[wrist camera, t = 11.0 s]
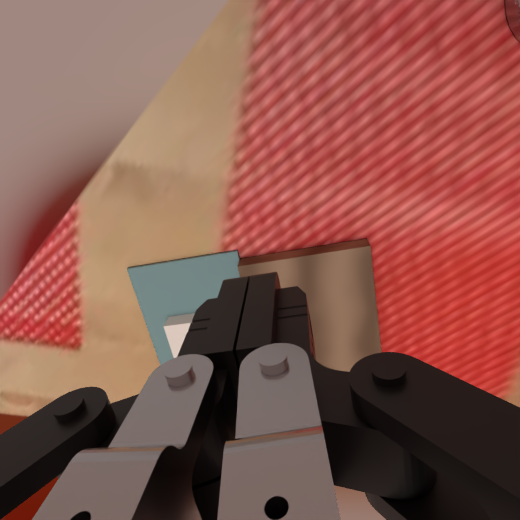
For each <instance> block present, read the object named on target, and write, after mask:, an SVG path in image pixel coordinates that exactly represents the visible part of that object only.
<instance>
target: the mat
mask: <svg viewBox="0 0 520 520" xmlns="http://www.w3.org/2000/svg"><path fill="white" fill-rule="evenodd" d="M239 259H240V258H239V254H238V250H234V251H227V252H221V253H215V254H209V255H203V256H196V257H190V258H184V259H178V260H172V261H165V262H159V263H153V264H147V265H141V266H134V267H128V268H127V271H128V274H129V276H130V279H131V282H132V285H133V288H134V291H135V294H136V296H137V299H138V302H139V305H140V308H141V311H142V313H143V316H144V319H145V322H146V325H147V328H148V331H149V333H150V336H151V339H152V342H153V345H154V348H155V351H156V353H157V356H158V359H159V362H160V365H162V364H163V363H165V362H167V361H169V360H171V359H173V358H174V357H173V354H172V351H171V348H170V345H169V342H168V339H167V336H166V333H165V330H164V327H163V326H164V324H165V323H166V321H167V319H168V317H170V316H177V315H184V314H192V313H195V312H196V310H197V309H198V308H199V307H200V306H201V305H202V304H203V303H204V302H205V301H206V300H207V299H213V298H217V297H218V294H219V291H220V288H221V285H222V282H223V280H225V279H232V278H239V277H240V275H239V271H238V267H237V266H238V263H239Z"/></svg>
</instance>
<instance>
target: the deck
mask: <svg viewBox="0 0 520 520" xmlns="http://www.w3.org/2000/svg"><path fill="white" fill-rule="evenodd" d="M237 267H238V271H239V275H240V277H245V276H250V277H251V275H258V274H264V273H271V272H277V273H278V276H279V281H280V286H281V288H287V287H294V286H298V287H299V288H300V289H301V290H302V291H303V292H304V293H306V297H307V303H308V308H309V314H310V320H311V326H312V331H313V337H314V344H315V355H316V361H317V362H318V363H320V364H321V365H323V366H325V367H328V368H330V369H334V370H339V371H347V372H350V370H351V368H352V367H353V365H354V364H355V363H356V362H358V361H359V360H360V359H362V358H364V357H366V356H369V355H372V354H376V353H381V344H380V335H379V325H378V315H377V305H376V295H375V285H374V276H373V266H372V256H371V246H370V244H369V242H368V240H367V239H361V240H355V241H348V242H342V243H336V244H329V245H323V246H317V247H311V248H304V249H298V250H292V251H285V252H279V253H273V254H266V255H260V256H254V257H247V258H241V259H239V263H238V266H237Z"/></svg>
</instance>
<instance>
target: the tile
mask: <svg viewBox="0 0 520 520" xmlns="http://www.w3.org/2000/svg"><path fill="white" fill-rule="evenodd" d="M194 314H195V313H192V314H184V315H177V316H170V317H168V319H167V321H166V323H165V324H164V326H163V327H164V330H165V333H166V336H167V339H168V342H169V345H170V348H171V351H172V354H173V357H174V358H176V357H177V356H178V353H179V351H180V349H181V346H182V344H183V341H184V339H185V336H186V334H187V332H188V329H189V327H190V324H191V323H192V319H193V317H194Z"/></svg>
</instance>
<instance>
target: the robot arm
mask: <svg viewBox="0 0 520 520" xmlns="http://www.w3.org/2000/svg"><path fill="white" fill-rule="evenodd" d="M505 6H506V16H507V20H508V23H509V26H510V29H511V30H512V32H513V34H514V35H515V37H516V38H517V39H518V40H519V41H520V0H505ZM57 476H58V478H59V479H58V481H57V482H56V484H55V485H54V487H53V489H52V490H51V492H50V493H49V495H48V496H47V498H46V499H45V501H44V502H43V504H42V505H41V507H40V509H39V510H38V511H37V513H36V515H35V516H34V517H33V519H32V520H340V515H339V510H338V504H337V499H336V494H335V489H334V485H336V486H340V487H345V488H349V489H354V490H357V491H362V492H365V494H366V497H367V499H368V501H369V502H370V504H371V505H372V506H373V507H374V508H375V510H377V511H378V512H379V513H380V514H381V515H382V516H383V517H384V518H385V519H386V520H520V408H519V407H517V406H515V405H513V404H511V403H509V402H507V401H505V400H503V399H500V398H498V397H496V396H494V395H492V394H490V393H488V392H486V391H484V390H482V389H479V388H477V387H475V386H473V385H471V384H469V383H467V382H465V381H463V380H460V379H458V378H456V377H454V376H452V375H450V374H448V373H446V372H444V371H442V370H439V369H437V368H435V367H433V366H431V365H429V364H427V363H425V362H423V361H421V360H418V359H416V358H414V357H412V356H409V355H406V354H402V353H396V352H382V353H376V354H372V355H369V356H366V357H364V358H362V359H360V360H359V361H358V362H356V363H355V364H354V365H353V367H352V368H351V370H350V372H347V371H339V370H334V369H330V368H328V367H325V366H323V365H321V364H320V363H318V362H317V361H316V355H315V344H314V337H313V331H312V326H311V320H310V314H309V308H308V303H307V297H306V293H304V292H303V291H302V290H301V289H300V288H299V287H298V286H294V287H287V288H281V286H280V281H279V276H278V273H277V272H271V273H264V274H258V275H251V277H250V276H245V277H239V278H232V279H225V280H223V282H222V285H221V288H220V291H219V294H218V297H217V298H213V299H207V300H206V301H205V302H204V303H203V304H202V305H201V306H200V307H199V308H198V309H197V310H196V312H195V314H194V317H193V319H192V323H191V324H190V327H189V329H188V332H187V334H186V336H185V339H184V341H183V344H182V346H181V349H180V351H179V353H178V356H177V357H176V358H173V359H171V360H169V361H167V362H165V363H163V364H162V365H160V366H159V367H158V368H156V369H155V370H154V371H153V372H152V374H151V375H150V376H149V378H148V380H147V381H146V383H145V385H144V387H143V388H142V390H141V392H140V394H138V395H135V396H132V397H129V398H126V399H123V400H120V401H117V402H114V403H111V404H110V401H109V399H108V397H107V394H106V392H105V391H104V390H103V389H101V388H97V387H85V388H80V389H77V390H74V391H71V392H69V393H67V394H65V395H63V396H61V397H59V398H57V399H56V400H54V401H53V402H51V403H50V404H48V405H46V406H45V407H43V408H42V409H40V410H39V411H37V412H35V413H34V414H32V415H31V416H29V417H28V418H26V419H24V420H23V421H21V422H20V423H18V424H17V425H15V426H13V427H12V428H10V429H9V430H7V431H6V432H4V433H3V434H1V435H0V519H2V518H3V517H4V516H5V515H7V514H8V513H10V512H11V511H12V510H13V509H15V508H16V507H17V506H19V505H20V504H21V503H23V502H24V501H25V500H27V499H28V498H29V497H30V496H32V495H33V494H34V493H36V492H37V491H38V490H39V489H41V488H42V487H44V486H45V485H46V484H48V483H49V482H50V481H51V480H53V479H54V478H55V477H57Z"/></svg>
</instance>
